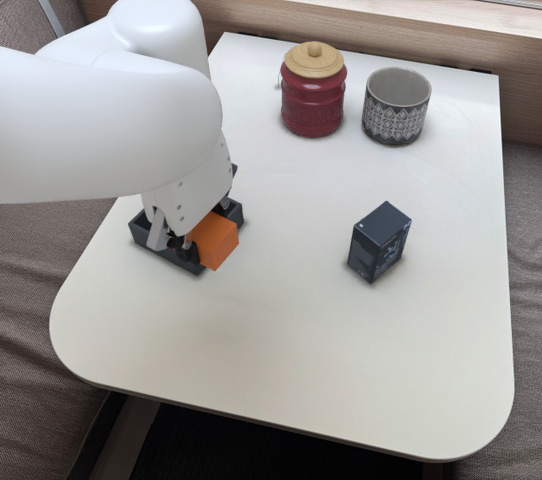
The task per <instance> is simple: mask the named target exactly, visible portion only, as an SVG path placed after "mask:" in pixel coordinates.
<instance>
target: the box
mask: <svg viewBox="0 0 542 480" xmlns="http://www.w3.org/2000/svg"><path fill="white" fill-rule="evenodd" d="M412 222H413V219H412V218H410V216H408V215H406V214H405V213H404V212H402V211H401V210H400V209H398V208H397V207H396V206H394V205H393V204H392V203H390V201H388V200H384V201H383V202H382V203H381V204H379V205H378V206H377V207H376V208H375V209H373V210H372V211H370V213H368V214H366V215H365V216H364V217H363V218H361V219H360V220H359V221H357V222H356V223H354V224H353V227H352V233H351V239H350V244H349V250H348V254H347V255H348V256H347V261H346V265H347V266H348V267H349V268H351V269H352V270H353V271H354V272H355V273H357V275H359V276H360V277H361V278H362V279H363V280H364V281H366V282H367V283H368V284H372V283H374V282H375V281H376V280H377V279H379V277H381V276H382V275H383V274H384V273H385V272H387V271H388V270H389V269H390V268H391V267H393V265H395V264H396V263H397V262H399V261H400V260H401V259H402V256H403V253H404V248H405V246H406V242H407V239H408V236H409V232H410V229H411V226H412Z"/></svg>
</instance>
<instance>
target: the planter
mask: <svg viewBox="0 0 542 480" xmlns="http://www.w3.org/2000/svg"><path fill="white" fill-rule="evenodd" d="M432 91H433V89H432V85H431V82H430V81H429V80H428V78H426V76H424V75H423V74H422V73H420V72H418V71H416V70H413V69H411V68H407V67H403V66H387V67H381V68H379V69H376V70H375V71H373V72H372V73H371V74H370V75H369V76H368V77H367V80H366V83H365V92H364V98H363V99H364V100H363V108H362V114H361V115H362V116H361V125H362V128H363V130H364V131H365V133H366V134H367V135H368V136H370V137H371V138H373V139H374V140H376V141H379V142H380V143H384V144H389V145H403V144H406V143H407V144H408V143H409V142H412V141H414V140H415V139H417V138H418V137H419V136H420V135H421V133H422V131H423V127H424V123H425V119H426V115H427V111H428V107H429V105H430V100H431V96H432Z"/></svg>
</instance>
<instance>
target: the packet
mask: <svg viewBox="0 0 542 480" xmlns="http://www.w3.org/2000/svg"><path fill="white" fill-rule="evenodd" d="M238 232H239V230H237V224H236V223H234V222H232V221H230V220H228V219H226V218H224V217H222V216H220V215H218V214H216V213H214V212H212V211H210V212H209V213H208V214H207V215H206V216H205V217H204V218H203V219H202V220H201V221H200V222H199V223H198V224H197V225H196V226H195V227H194V228H193V229H192V241H194V242H196V244H197V249H198V253H199V257H200V264H202V265H204V266H206V267H205V268H208V269H209V270H210V271H213V272H216V271H217V270H218V269H219V268H220V267H221V265H222V264H223V263H224V262H225V261H226V260H227V258H229V256H230V255H231V254H232V253H233V252H234V251H235V249H236V248H237V247H238V246H239V245H240V240H239V233H238ZM174 250H175V249H174Z"/></svg>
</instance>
